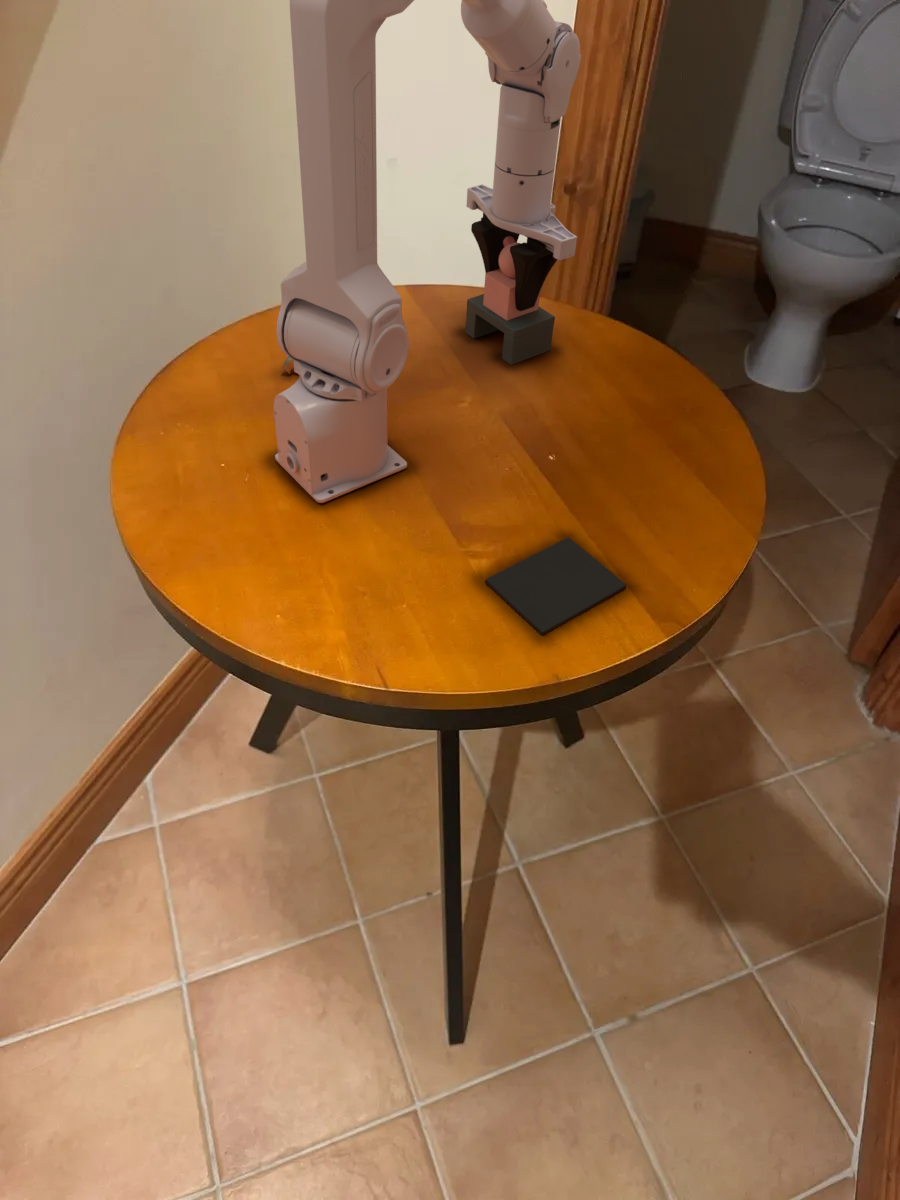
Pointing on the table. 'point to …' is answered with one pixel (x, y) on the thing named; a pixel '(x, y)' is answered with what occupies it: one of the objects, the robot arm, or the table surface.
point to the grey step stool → (512, 330)
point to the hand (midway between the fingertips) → (511, 298)
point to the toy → (504, 286)
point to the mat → (555, 585)
